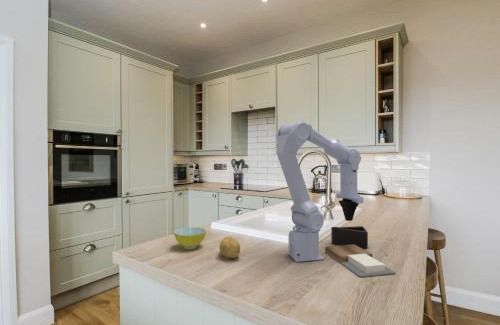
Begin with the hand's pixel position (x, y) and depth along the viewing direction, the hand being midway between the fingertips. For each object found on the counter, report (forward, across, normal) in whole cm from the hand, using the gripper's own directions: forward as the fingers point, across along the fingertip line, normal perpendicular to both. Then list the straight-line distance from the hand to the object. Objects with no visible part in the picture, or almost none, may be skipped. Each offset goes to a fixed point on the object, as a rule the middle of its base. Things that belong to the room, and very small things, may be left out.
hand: (348, 220), depth 97 cm
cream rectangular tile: (+10, -17, +5) cm, 20 cm away
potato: (+10, +1, +43) cm, 44 cm away
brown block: (+10, -8, +5) cm, 13 cm away
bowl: (+10, +13, +56) cm, 58 cm away
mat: (+10, -18, +5) cm, 21 cm away
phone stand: (+7, +1, -8) cm, 10 cm away
